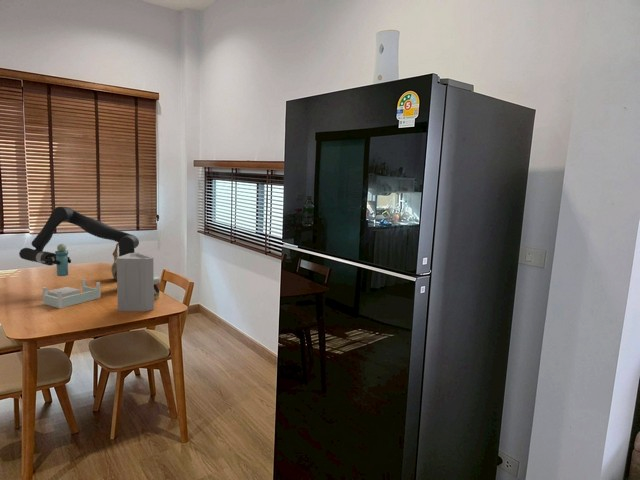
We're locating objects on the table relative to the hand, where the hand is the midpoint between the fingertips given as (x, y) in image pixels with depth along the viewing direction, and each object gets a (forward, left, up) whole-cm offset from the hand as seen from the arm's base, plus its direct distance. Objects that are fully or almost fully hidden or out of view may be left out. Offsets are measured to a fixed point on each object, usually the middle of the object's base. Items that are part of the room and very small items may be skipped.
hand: (64, 262), depth 237 cm
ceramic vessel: (-15, -38, -19) cm, 45 cm away
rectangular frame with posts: (-9, +11, -19) cm, 24 cm away
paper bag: (-45, +21, -19) cm, 53 cm away
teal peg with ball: (+2, -1, -8) cm, 8 cm away
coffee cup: (-49, +2, -19) cm, 53 cm away
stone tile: (+2, -1, -19) cm, 19 cm away
